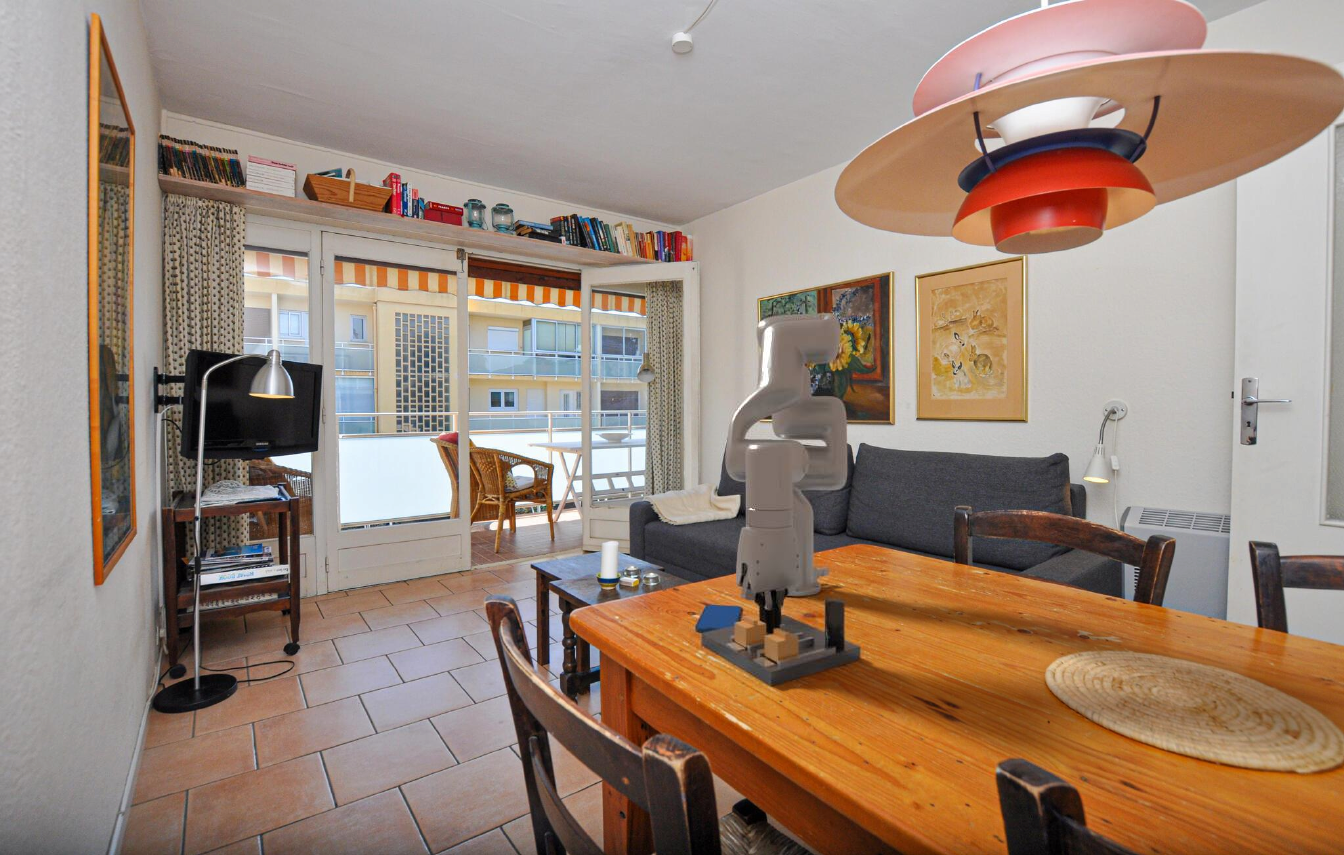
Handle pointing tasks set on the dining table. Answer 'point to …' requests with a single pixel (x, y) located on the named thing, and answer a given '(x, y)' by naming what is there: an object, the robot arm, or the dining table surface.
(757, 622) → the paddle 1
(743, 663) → the grey slotted fixture
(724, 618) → the smartphone
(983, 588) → the dining table surface
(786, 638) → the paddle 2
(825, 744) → the dining table surface
